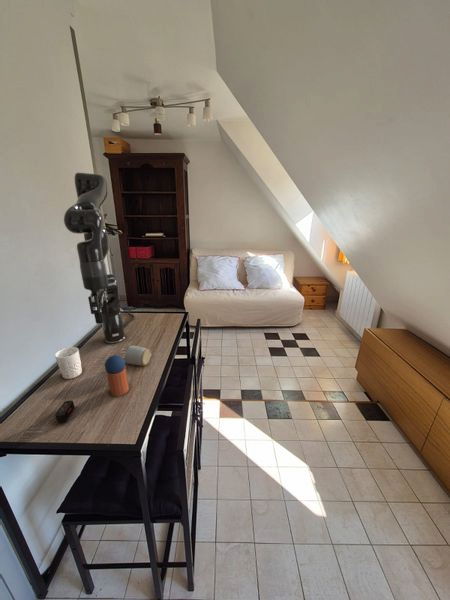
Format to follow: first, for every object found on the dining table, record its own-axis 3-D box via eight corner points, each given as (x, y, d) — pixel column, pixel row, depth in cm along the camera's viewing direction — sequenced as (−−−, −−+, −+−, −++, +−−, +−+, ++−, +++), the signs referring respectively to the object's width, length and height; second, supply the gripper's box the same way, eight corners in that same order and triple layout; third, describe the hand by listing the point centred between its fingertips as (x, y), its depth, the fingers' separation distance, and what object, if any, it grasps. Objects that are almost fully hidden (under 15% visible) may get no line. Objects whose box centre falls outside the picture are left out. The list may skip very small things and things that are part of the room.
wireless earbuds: (77, 406, 83) (74, 398, 82) (66, 423, 76) (63, 415, 75) (62, 407, 83) (60, 399, 82) (50, 424, 76) (47, 416, 75)
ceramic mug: (143, 369, 102) (141, 353, 99) (125, 367, 103) (123, 351, 101) (156, 356, 111) (154, 340, 109) (139, 353, 113) (137, 338, 111)
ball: (108, 368, 90) (105, 353, 88) (127, 365, 91) (124, 350, 89) (104, 379, 84) (101, 363, 82) (124, 376, 86) (121, 360, 83)
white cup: (60, 382, 95) (53, 360, 91) (62, 371, 101) (55, 350, 98) (83, 376, 98) (78, 354, 95) (83, 365, 105) (78, 345, 101)
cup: (112, 385, 93) (108, 365, 90) (129, 383, 94) (126, 362, 91) (109, 397, 87) (104, 375, 84) (127, 394, 88) (124, 373, 85)
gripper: (101, 278, 77) (110, 325, 83) (110, 267, 90) (117, 309, 96) (74, 280, 75) (85, 328, 81) (87, 268, 88) (96, 310, 94)
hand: (102, 317), depth 88 cm, fingers open, 8 cm apart
